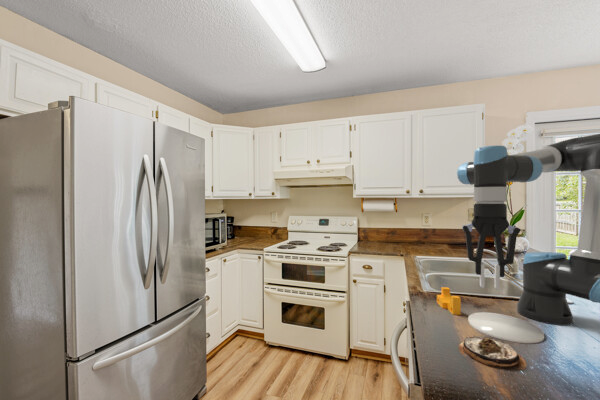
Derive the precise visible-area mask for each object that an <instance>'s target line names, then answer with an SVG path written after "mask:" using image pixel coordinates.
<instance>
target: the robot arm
mask: <svg viewBox="0 0 600 400" xmlns="http://www.w3.org/2000/svg"><path fill="white" fill-rule="evenodd" d="M553 172H580V175H581V176H583V178H585V187H584V195H583V203H582V211H581V220H580V225H579V227H580V228H579V233H578V234H579V235H578V243H577V250H575V251H574V252H572V253H570V254H569V259H568V257H567V254H565V253H563V252H552V251H551V252H550V251H548V252H546V251H533V252H526V253H525V254H524V256H523V261H522V267H523V269H522V271H523V273H522V285H523V286H522V293H521V295H520V297H519V298H518V299H519V300H518V301H517V304H516V311H517V312H518V313H519V314H520V315H522V316H523V317H526V318H528V319H531V320H534V321H536V322H537V321H538V322H541V323H547V324H550V325H559V326H564V325H565V326H566V325H568V326H569V325H571V324H573V322H574V320H573V319H574V316H573V312H572V310H571V308H570V306H569V303H568V301H567V296H566V295H570V296H572V297H573V296H574V297H576V298H579V299H585V300H587V301H590V302H592V303H596V304H597V303H598V304H600V133H597V134H592V135H591V134H590V135H585V136H584V135H583V136H580V137H573V138H569V139H565V140H561V141H559V142H555V143H552V144H547V145H542V146H540V147H538V148H536V149H535V150H531V151H526V152H521V153H516V154H508V148H507V147H506V146H504V145H487V146H482V147H478V148H477V149H475V150H474V155H473V161H468V162H465V163H462V164H461V165H459V166H458V169H457V172H456V174H457V179H458V181H459V182H460V183H461V184H464V185H472V186H473V201H474V202H476V203H474V204H473V219H472V220H471V223H469V224H463V225H462V226H461V228H462V230H463V232H464V233H465V236H464V237H465V244H466V252H467V259H468V260H469V261H471V262H474V263H475V268H474V269H475V270H474V272H475V274H476V275H477V276H479V286H480V288H481V289H485V263H484V262H482V260H483V256H484V255H483V254H484V249H485V244H486V243H485V242H486V239H487V237H493V241H494V247H495V248H494V249H495V252H496V258H497V259H496V260H497V263H494V279H493V280H494V286H493V287H494V288H495V290H497V291H500V289H501V288H500V287H501V278H505V271H506V270H505V269H506V268H505V267H506V266H507V265H512V264H513V263H514V260H515V253H516V246H517V245H516V244H517V237H518V235H519V234H520V232H521V228H519V227H517V226H513V225H511V224H510V223H509V221H508V219H507V218H508V217H507V215H508V214H507V213H508V211H507V210H508V207H507V206H508V205H507V204H506V203H505V202H507V201H508V198H507V197H508V192H507V191H508V187H507V185H508V183H529V182H533V181H536V180H537V179H538V178H539V177H541V175H542V173H553ZM473 228H474V229H475V230H476V231H477V233H478V240H477V241H478V242H477V245H476V253H475V256H474V249H473V242H472V241H473V240H472V239H473V238H472V234H471V232H473ZM506 230H507V233H509V235H508V238H507V248H506V253H505V254H506V255H505V254H504V250H503V249H504V248H503V244H502V236H501V235H502V234H503V233H504V232H505V231H506ZM504 255H505V256H504Z"/></svg>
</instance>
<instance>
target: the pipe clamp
mask: <svg viewBox="0 0 600 400" xmlns="http://www.w3.org/2000/svg"><path fill="white" fill-rule="evenodd" d="M440 290H441V292H440V293H441V294H436V303H437V304H438V305H439V306H440V307H441V308H442V309H447V310H448V311H449V312H450V314H452V315H454V316H455V315H457V316H460V315H462V314H461V311H462V309H461V307H462V304H461V301H462V300H461V296H459V295H451V289H450V288H449V287H445V286H444V287H443V286H441V289H440Z"/></svg>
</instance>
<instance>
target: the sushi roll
mask: <svg viewBox="0 0 600 400" xmlns="http://www.w3.org/2000/svg"><path fill="white" fill-rule="evenodd" d="M463 340H464V341H462V342H461V343H459V345H458V350H459V352H460V354H462V355H463V357H466V358H467V356H468V357H469V358H470V359H472V360H473V361H477V362H480V363H482V364H485V365H486V366H489V367H492V368H495V369H499V370H500V369H501V370H502V369H504V370H514V369H517V370H521V371H522V370H524V369H525V368H527V363H526V361H525V359H524V357H522V356H521V355H520V354H519V353H518V352H517V351H516V350H515V349H514V348H513V347H512V346H511V345H510V344H509V343H507V342H505V341H504V340H499V339H498V338H496V339H494V337H492V339H491V338H490V337H489V338H488V337H487V336H483V335H482V336H480V335H473V336H466V337H465V338H464V339H463Z"/></svg>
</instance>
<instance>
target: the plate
mask: <svg viewBox="0 0 600 400" xmlns="http://www.w3.org/2000/svg"><path fill="white" fill-rule="evenodd" d="M467 320H468V324H469V325H470V327H472V328H473V329H474V330H476V331H477V332H480V333H481V334H484V335H487V336H488V337H490V338H491V337H492V338H493V339H494V338H495V339H498V340H501V341H506V342H513V343H518V344H536V343H537V344H538V343H541V342H543V341H544V339H545V333H544V331H543V330H542V329H541V328H540V327H538V326H537V325H534V324H533V323H531V322H529V321H527V320H524V319H521V318H519V317H514V316H511V315H507V314H502V313H497V312H486V311H485V312H484V311H482V312H474V313H471V314H469V315H468V319H467Z"/></svg>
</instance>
